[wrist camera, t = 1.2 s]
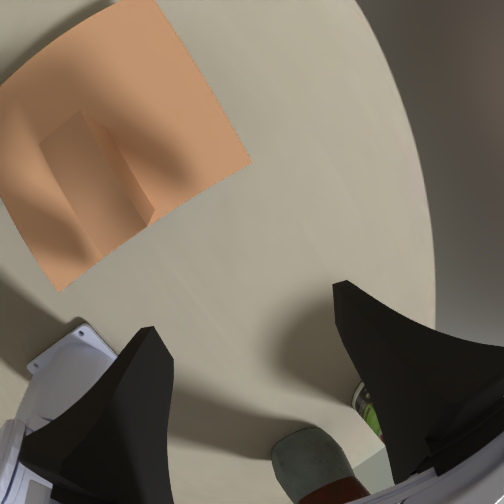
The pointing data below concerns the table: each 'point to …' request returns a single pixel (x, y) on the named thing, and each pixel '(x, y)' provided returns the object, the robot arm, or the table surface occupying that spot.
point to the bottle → (315, 469)
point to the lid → (107, 137)
